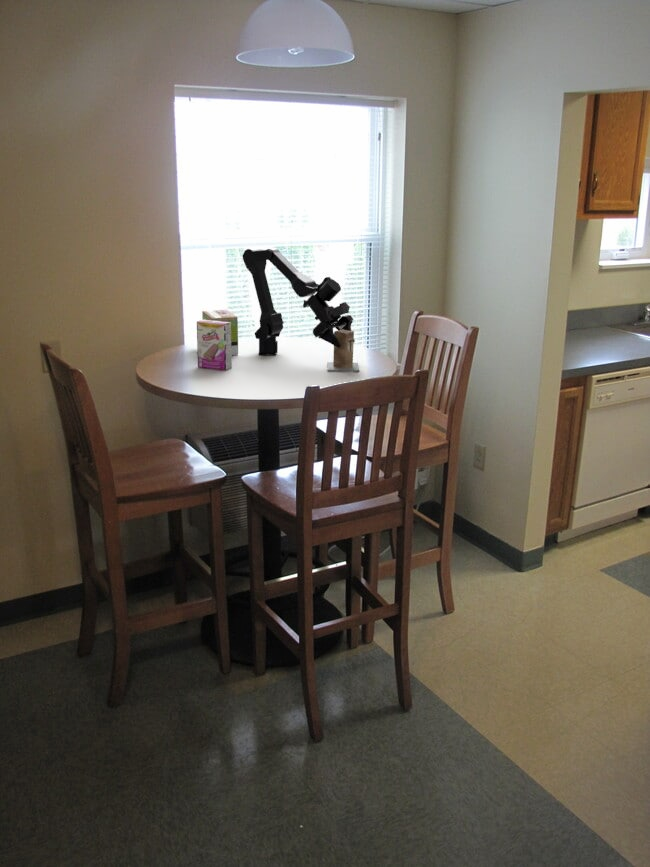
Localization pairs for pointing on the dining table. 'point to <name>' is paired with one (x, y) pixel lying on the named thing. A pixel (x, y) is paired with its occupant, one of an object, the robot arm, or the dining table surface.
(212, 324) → the candy bar box
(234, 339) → the tea box
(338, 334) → the letter block
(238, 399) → the dining table surface
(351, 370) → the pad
